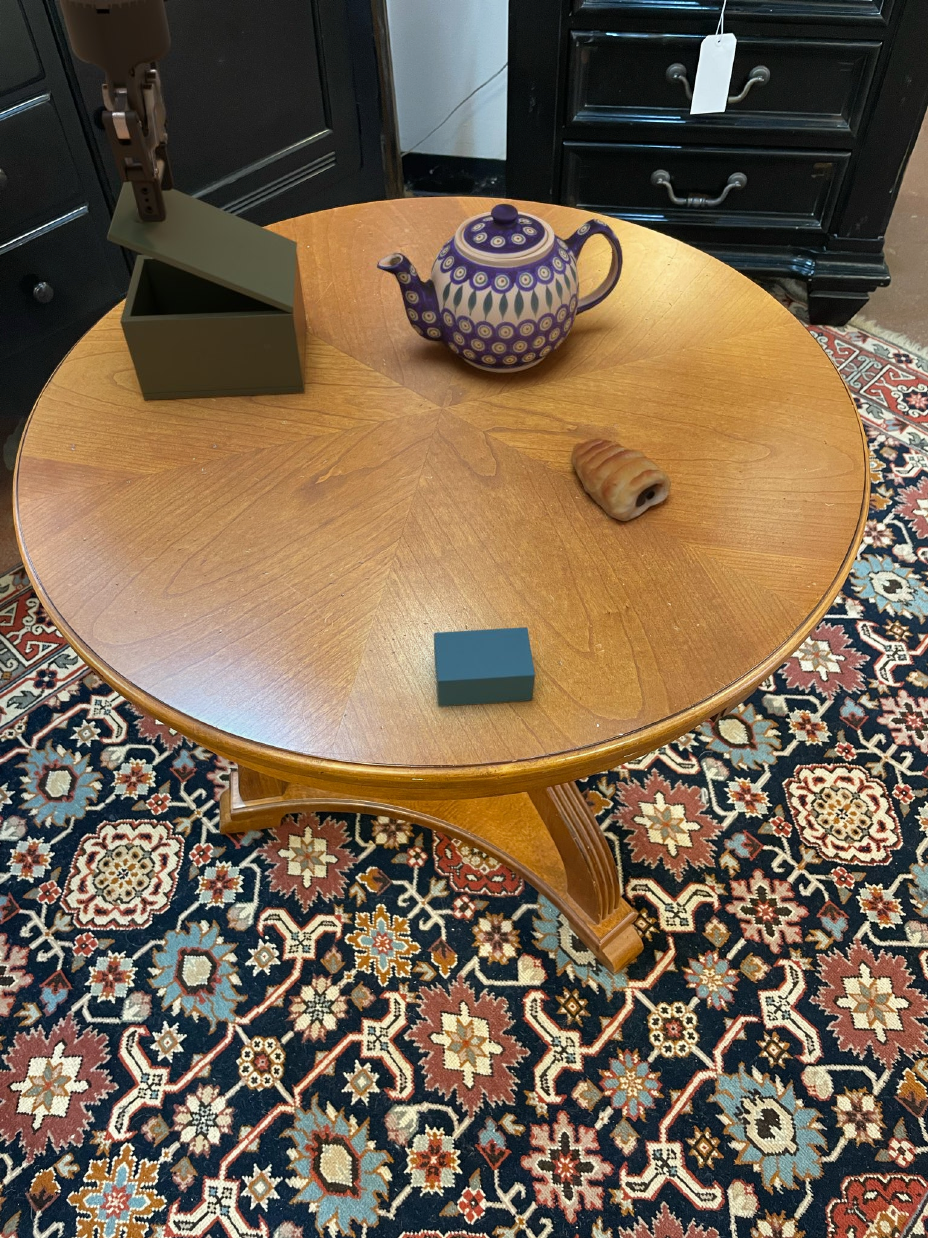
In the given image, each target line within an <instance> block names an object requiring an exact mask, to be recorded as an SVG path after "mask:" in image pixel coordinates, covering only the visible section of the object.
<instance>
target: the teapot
mask: <svg viewBox="0 0 928 1238" xmlns="http://www.w3.org/2000/svg"><path fill="white" fill-rule="evenodd" d="M594 235H602V236H603V237H604V238H605V240H606V241H607V242H608V244H609V246H610V248H611V261H610V262H611V263H610V267H609V270H608V273H607V276H606V277H605V278H604V280H603V281H602V283H600V284H599V286H597V288H595V289H594V290H593V291H591V292H590V293H588V294H587V295H585V296H583V297H581V298H580V280H579V272H578V266H577V263H578V261H579V258H580V255H581V252H582V250H583V248H584V246H585V244H586V242H587V241H588V240H589V239H590V238H591V237H592V236H594ZM623 259H624V258H623V249H622V246H621V241H620V240H619V238H618V236H617V235H616V233H615V231H614V230H613V229H612V228H611V227H610V226H609V225H608V224H607V223H606V222H604V221H602V220H601V219H599V218H591V219H590V220H587V221H586V222H585V223H583V224H582V225H581V226H579V227H578V228H577V229H576V230H575V231H574V232H573V233H572V234H571V235H570V236H569V237H567V238H565V239H563V238H561V237H560V236H558V235H556V234H555V231H554V229H553V228H552V227H551V225H550V224H549V223H548V222H546V221H545V220H544V219H542V218H540V217H538V216H536V215H533V214H531V213H527V212H523V211H518V209H517V207H515V206H514V205H512V204H509V203H499V204H496V205H494V206H493V208H492V209H491V210H490V211H487V212H482V213H478V214H477V215H473V216H470V217H469V218H467V219H465V220H464V221H463V222H462V223H460V225H459V226H458V227H457V228H456V230H455V234H454V235H453V236H451V238H450V239H448V240H447V241H446V242H445V243H444V245H443V246H441V248H440V250H439V251H438V252H437V255H436V256H435V259H434V261H433V264H432V266H431V271H430V278H428V280H426V281H423V280H422V279H421V277H420V276H419V273H418V271H417V268H416V267H415V266H414V264H413V263H412V262H411V261H410V259H409V258H408V257H406V255H404V254H402V253H400V252H394V253H390V254H387V255H386V256H385V257H383V258H381V260H379V261H378V263H377V264H376V268H377V269H379V270H381V271H383V272H386V273H389V274H392V275H393V276H394V277H395V279H396V281H397V283H398V285H399V289H400V293H401V297H402V302H403V306H404V310H405V314H406V318H407V320H408V322H409V324H410V326H411V328H412V329H413V331H415V332H416V333H417V334H418V335H419V336H420V337H421V338H422V339H425V340H427V341H429V342H438V343H442V344H443V345H445V346H446V347H447V348H448V349H449V350H450V351H451V352H452V353H454V354H455V355H457V356H458V357H460V358H461V359H463V360H464V361H465V362H466V363H468V364H469V365H471V366H473V367H474V368H477V369H479V370H483V371H487V372H491V373H498V374H499V373H503V374H504V373H505V374H506V373H516V372H521V371H525V370H528V369H530V368H532V367H534V366H536V365H538V364H539V363H541V362H542V361H543V360H544V359H545V358H546V357H547V356H548V355H550V354H551V353H552V352H554V351H556V350H557V349H559V348H560V346H561V345H562V344H563V343H564V342H565V340H566V339H567V337H568V335H569V334H570V332H571V330H572V327H573V324H574V323H575V320H576V317H577V316H578V315H580V314H582V313H584V312H587V311H589V310H591V309H593V308H595V307H597V306H598V305H599V304H600V303H602V302H603V301H604V300H606V299H607V298H608V297H609V296H610V294H612V292H613V291H614V289H615V288H616V286H617V284H618V282H619V281H620V278H621V274H622V269H623V264H624V260H623Z"/></svg>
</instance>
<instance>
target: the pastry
mask: <svg viewBox="0 0 928 1238" xmlns="http://www.w3.org/2000/svg"><path fill="white" fill-rule="evenodd" d="M570 463H571V465H572V466H573V468H574V471H575V472H576V474H577V477H578V479H579V480H580V481H581V483H582V486H583V490H584V491H585V493H586V494H589V496H590V497H591V499H592V500H593V501H594V502H596V504H597V505H598V506H600V507H601V508H602V509H603V511H604V512H605V513H606V514H607V515H608V516H610V517H611V518H614V519H616V520H618V521H621V522H627V521H631V520H632V519H634V518H636V517H639V516H640V515H641V514H642V513H644V512H645V511H646V510H647V509H648V508H650V507H652V506H656V505H658V504H660V503H662V502H664V501H665V500H666V499H667V497H668V496H669V493H670V491H671V487H672V481H671V479H670V477H669V474H668V473H667V472H665V471H663V470H662V468H661V466H659V465H658V464H657V463H656V462H655V461H654V460H652V459H651V458H649V457H648V456H647V455H646V454H645V453H644V452H643V451H642V450H639V449H636V450H635V449H633V448H628V447H626V446H624V445H622V444H620V443H619V442H617V441H612V440H608V439H604V438H600V437H599V438H598V437H597V438H593V439H589V440H585V442H579V443H575V445H573V448H572V452H571V456H570Z"/></svg>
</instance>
